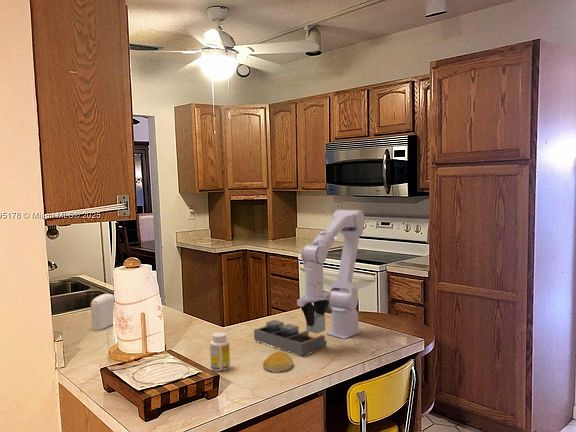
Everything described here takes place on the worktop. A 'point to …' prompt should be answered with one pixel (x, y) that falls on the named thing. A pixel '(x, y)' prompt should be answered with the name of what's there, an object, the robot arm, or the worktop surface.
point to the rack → (289, 338)
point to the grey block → (317, 324)
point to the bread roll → (278, 362)
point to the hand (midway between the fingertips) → (314, 323)
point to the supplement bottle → (219, 352)
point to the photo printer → (102, 311)
